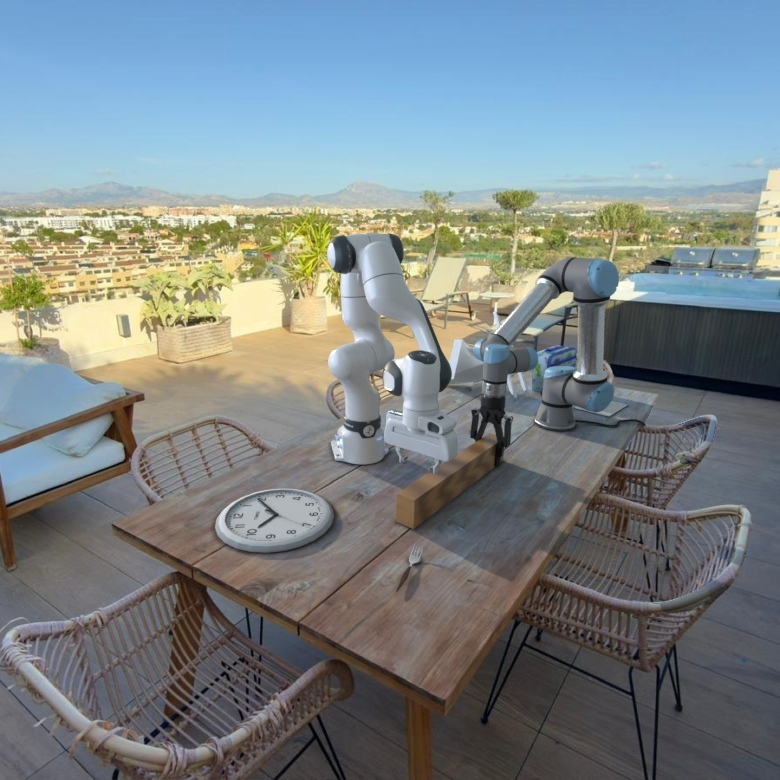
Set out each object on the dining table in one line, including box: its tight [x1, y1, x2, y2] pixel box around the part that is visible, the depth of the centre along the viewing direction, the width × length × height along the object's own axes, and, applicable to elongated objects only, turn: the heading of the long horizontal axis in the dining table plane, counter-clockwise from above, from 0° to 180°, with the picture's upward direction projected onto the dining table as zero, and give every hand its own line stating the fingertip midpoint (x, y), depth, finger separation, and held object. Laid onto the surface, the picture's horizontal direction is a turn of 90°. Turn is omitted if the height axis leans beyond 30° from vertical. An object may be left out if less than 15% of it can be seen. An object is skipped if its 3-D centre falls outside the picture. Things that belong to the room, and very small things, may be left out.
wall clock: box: [214, 488, 335, 554], centre depth 135 cm, size 30×2×30 cm
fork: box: [395, 543, 425, 593], centre depth 115 cm, size 3×16×2 cm, turn 160°
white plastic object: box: [448, 310, 531, 400], centre depth 245 cm, size 37×45×31 cm
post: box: [395, 433, 505, 530], centre depth 153 cm, size 52×6×8 cm, turn 143°
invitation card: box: [573, 400, 629, 418], centre depth 226 cm, size 21×1×15 cm
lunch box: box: [531, 345, 577, 394], centre depth 245 cm, size 26×11×21 cm, turn 134°
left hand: (418, 467), depth 134 cm, fingers open, 8 cm apart
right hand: (488, 462), depth 170 cm, fingers closed on post, 6 cm apart
